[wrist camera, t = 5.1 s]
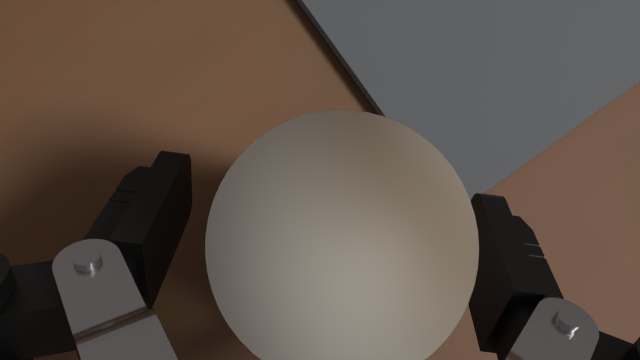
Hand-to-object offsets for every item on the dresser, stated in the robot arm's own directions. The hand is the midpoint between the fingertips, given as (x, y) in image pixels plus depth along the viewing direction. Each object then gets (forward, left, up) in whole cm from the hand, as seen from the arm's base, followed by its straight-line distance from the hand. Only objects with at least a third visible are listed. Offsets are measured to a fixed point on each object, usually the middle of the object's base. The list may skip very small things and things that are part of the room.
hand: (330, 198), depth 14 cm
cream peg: (-1, -1, -5) cm, 5 cm away
